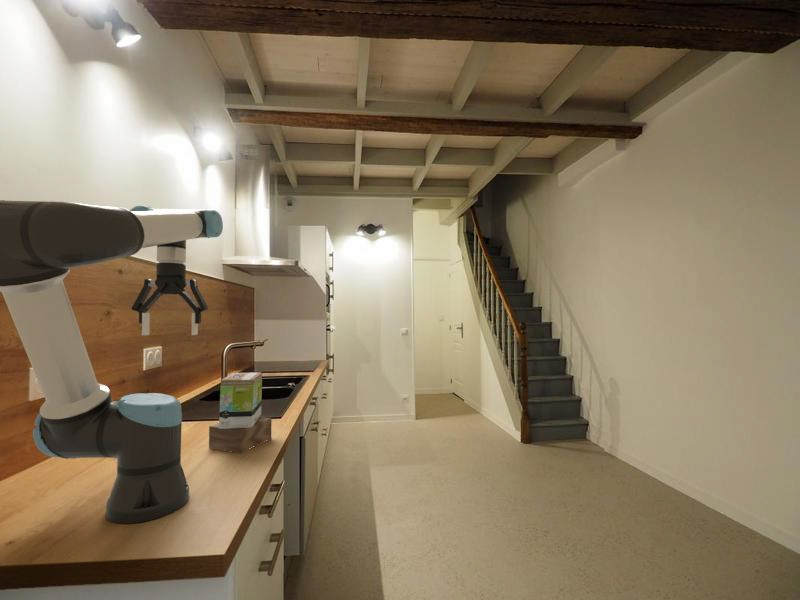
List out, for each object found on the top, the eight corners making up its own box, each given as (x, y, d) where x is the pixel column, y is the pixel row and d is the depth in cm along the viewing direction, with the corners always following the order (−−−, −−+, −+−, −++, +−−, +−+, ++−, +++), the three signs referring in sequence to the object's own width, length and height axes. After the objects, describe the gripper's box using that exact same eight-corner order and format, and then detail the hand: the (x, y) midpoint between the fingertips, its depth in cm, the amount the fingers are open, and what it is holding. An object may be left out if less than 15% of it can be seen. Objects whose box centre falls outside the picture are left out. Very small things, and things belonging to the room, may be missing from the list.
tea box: (253, 428, 119) (254, 378, 119) (218, 429, 117) (218, 379, 117) (262, 415, 134) (262, 371, 134) (230, 416, 132) (231, 371, 132)
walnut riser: (240, 454, 116) (240, 430, 116) (208, 449, 120) (209, 426, 120) (271, 439, 129) (271, 418, 130) (241, 435, 133) (242, 414, 134)
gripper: (219, 265, 122) (218, 333, 122) (133, 263, 119) (131, 334, 119) (211, 262, 115) (210, 335, 114) (118, 260, 112) (117, 336, 111)
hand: (170, 335), depth 116 cm, fingers open, 13 cm apart
